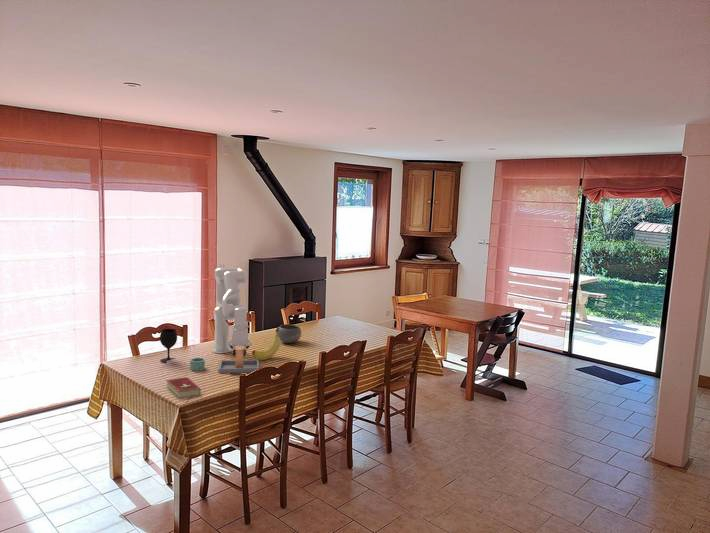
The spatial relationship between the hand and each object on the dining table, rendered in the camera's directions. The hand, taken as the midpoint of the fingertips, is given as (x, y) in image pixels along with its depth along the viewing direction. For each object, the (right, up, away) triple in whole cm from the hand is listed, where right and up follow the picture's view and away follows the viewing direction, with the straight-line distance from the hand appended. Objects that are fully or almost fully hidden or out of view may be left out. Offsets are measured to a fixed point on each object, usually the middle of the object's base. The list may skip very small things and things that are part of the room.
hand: (239, 355), depth 332 cm
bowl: (+22, -2, +70) cm, 73 cm away
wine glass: (-48, -5, +12) cm, 50 cm away
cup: (-25, -8, -4) cm, 27 cm away
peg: (0, -7, +1) cm, 7 cm away
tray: (0, -9, +1) cm, 9 cm away
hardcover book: (-23, -13, -39) cm, 47 cm away
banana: (+12, -7, +27) cm, 30 cm away
